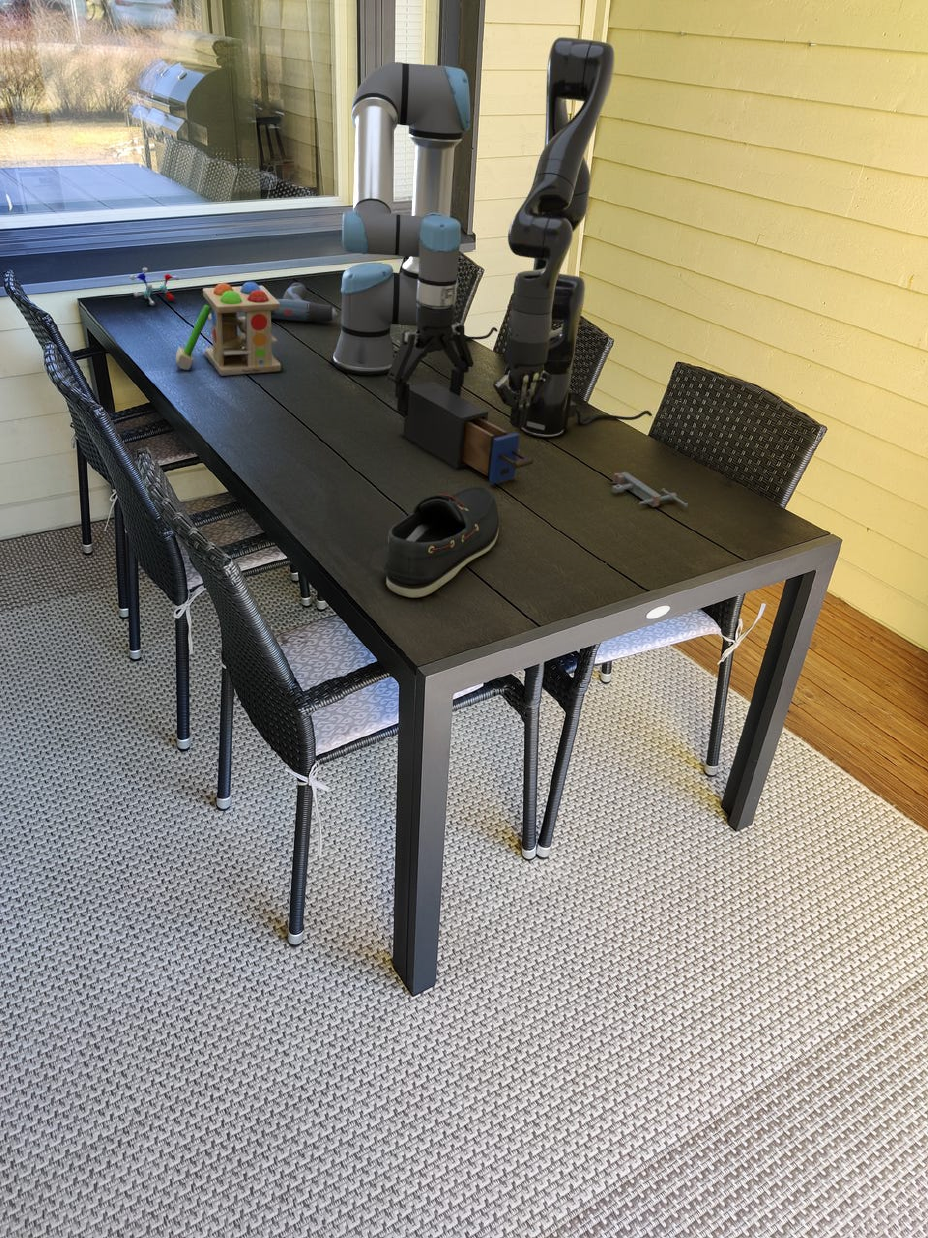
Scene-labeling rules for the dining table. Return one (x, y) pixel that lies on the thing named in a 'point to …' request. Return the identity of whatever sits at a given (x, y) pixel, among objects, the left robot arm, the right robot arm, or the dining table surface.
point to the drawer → (491, 450)
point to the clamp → (623, 484)
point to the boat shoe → (440, 540)
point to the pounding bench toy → (229, 347)
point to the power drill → (301, 307)
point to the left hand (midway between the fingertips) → (428, 407)
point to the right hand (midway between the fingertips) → (517, 425)
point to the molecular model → (150, 289)
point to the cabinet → (439, 421)
